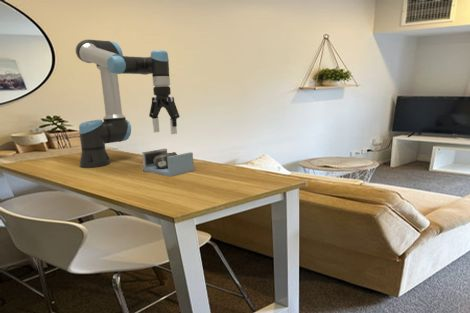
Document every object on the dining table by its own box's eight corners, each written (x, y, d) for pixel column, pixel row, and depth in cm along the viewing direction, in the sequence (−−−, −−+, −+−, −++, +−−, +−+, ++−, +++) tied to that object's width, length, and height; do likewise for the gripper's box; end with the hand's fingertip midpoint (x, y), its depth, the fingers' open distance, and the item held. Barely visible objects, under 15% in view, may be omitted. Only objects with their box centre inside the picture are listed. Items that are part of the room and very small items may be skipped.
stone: (167, 178, 155) (155, 160, 152) (160, 178, 161) (148, 161, 158) (188, 160, 163) (177, 143, 160) (180, 161, 168) (169, 144, 165)
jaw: (143, 166, 163) (142, 152, 162) (165, 162, 172) (164, 148, 171) (145, 167, 162) (144, 152, 160) (168, 162, 171) (167, 148, 169)
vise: (142, 170, 163) (140, 152, 162) (166, 165, 173) (165, 148, 171) (169, 176, 148) (168, 157, 147) (194, 170, 158) (193, 152, 157)
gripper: (139, 87, 159) (143, 132, 163) (171, 85, 142) (174, 135, 146) (153, 87, 165) (156, 130, 169) (185, 85, 148) (188, 133, 152)
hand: (165, 133), depth 158 cm, fingers open, 13 cm apart
